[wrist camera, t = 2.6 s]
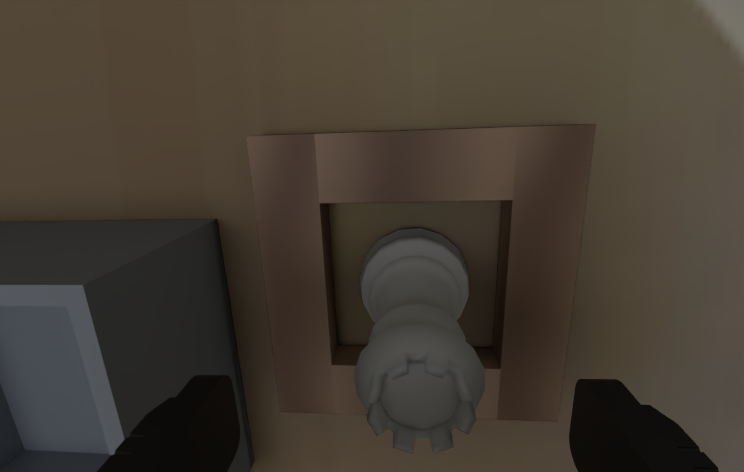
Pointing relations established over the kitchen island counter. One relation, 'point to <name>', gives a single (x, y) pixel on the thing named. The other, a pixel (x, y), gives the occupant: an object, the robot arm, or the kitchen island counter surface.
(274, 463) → the kitchen island counter surface
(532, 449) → the kitchen island counter surface
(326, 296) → the socket block
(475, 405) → the rook chess piece
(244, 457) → the bin
